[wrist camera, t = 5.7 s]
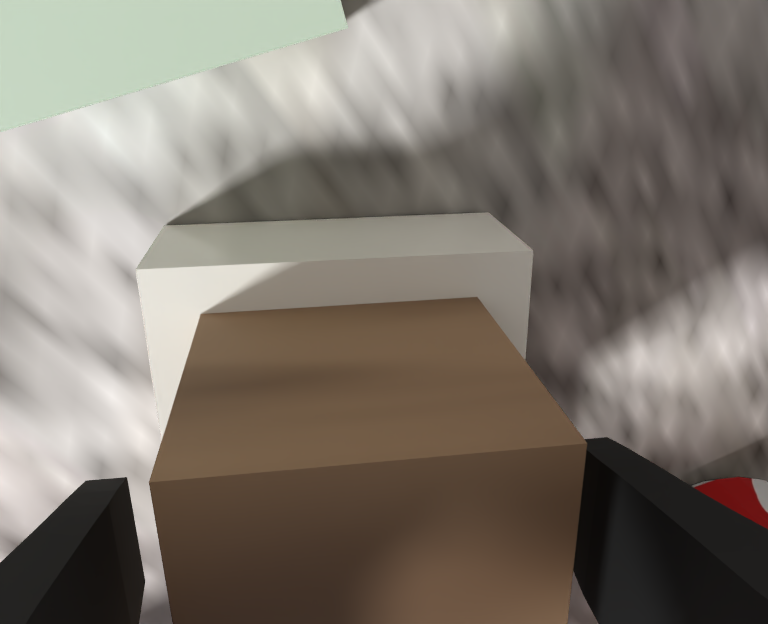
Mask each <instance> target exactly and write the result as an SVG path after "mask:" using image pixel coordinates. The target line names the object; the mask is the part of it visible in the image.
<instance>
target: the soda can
mask: <svg viewBox="0 0 768 624" xmlns="http://www.w3.org/2000/svg"><path fill="white" fill-rule="evenodd" d="M692 487H694V488H695V489H697V490H699V491H700V492H702V493H704V494H705V495H707V496H709V497H711V498H712V499H714V500H716V501H718V502H719V503H721V504H723V505H725V506H726V507H728V508H730V509H732V510H734V511H735V512H737V513H739V514H741V515H742V516H744V517H746V518H748V519H750V520H752V521H754V522H756V523H757V524H759V525H761V526H763V527H765V528H767V529H768V482H767V481H765V480H760V479H752V478H745V477H732V478H724V479H716V480H711V481H703V482H700V483H698V484H695V485H692Z"/></svg>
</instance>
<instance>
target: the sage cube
mask: <svg viewBox="0 0 768 624" xmlns="http://www.w3.org/2000/svg"><path fill="white" fill-rule="evenodd" d="M347 28H348V26H347V22H346V18H345V15H344V11H343V7H342V4H341V0H0V132H3V131H6V130H9V129H13V128H16V127H19V126H23V125H26V124H29V123H33V122H36V121H40V120H43V119H46V118H50V117H53V116H56V115H60V114H63V113H66V112H70V111H73V110H76V109H80V108H83V107H86V106H90V105H93V104H96V103H100V102H103V101H106V100H110V99H113V98H116V97H120V96H123V95H126V94H130V93H133V92H136V91H140V90H143V89H146V88H150V87H153V86H156V85H160V84H163V83H166V82H170V81H173V80H176V79H180V78H183V77H186V76H190V75H193V74H196V73H200V72H203V71H206V70H210V69H213V68H216V67H220V66H223V65H227V64H230V63H233V62H237V61H240V60H243V59H247V58H250V57H253V56H257V55H260V54H263V53H267V52H270V51H273V50H277V49H280V48H283V47H287V46H290V45H293V44H297V43H300V42H303V41H307V40H310V39H313V38H317V37H320V36H323V35H327V34H330V33H333V32H337V31H340V30H343V29H347Z"/></svg>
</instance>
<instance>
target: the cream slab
mask: <svg viewBox="0 0 768 624" xmlns="http://www.w3.org/2000/svg"><path fill="white" fill-rule="evenodd" d="M533 251H534V250H532V249H531V248H530V247H529V246H528V245H527V244H525V243H524V242H523V241H522V240H521V239H519V238H518V237H517V236H516V235H515V234H514V233H512V232H511V231H510V230H509V229H508V228H506V227H505V226H504V225H503V224H502V223H501V222H499V221H498V220H497V219H496V218H495V217H493V216H492V215H491V214H490V213H489V212H484V213H460V214H435V215H411V216H386V217H362V218H337V219H313V220H288V221H263V222H239V223H214V224H190V225H165V226H164V227H163V228H162V230H161V231H160V233H159V234H158V236H157V237H156V239H155V240H154V242H153V244H152V245H151V247H150V248H149V250H148V251H147V253H146V254H145V256H144V257H143V259H142V260H141V262H140V264H139V265H138V267H137V268H136V275H137V282H138V289H139V296H140V302H141V309H142V316H143V322H144V329H145V336H146V342H147V349H148V356H149V363H150V369H151V376H152V383H153V389H154V396H155V403H156V409H157V416H158V423H159V430H160V436H161V442H162V438H163V435H164V432H165V429H166V425H167V422H168V419H169V416H170V412H171V409H172V406H173V403H174V399H175V396H176V393H177V390H178V386H179V383H180V380H181V376H182V373H183V370H184V367H185V363H186V360H187V357H188V354H189V350H190V347H191V344H192V341H193V337H194V334H195V331H196V328H197V324H198V321H199V318H200V314H208V313H224V312H240V311H257V310H273V309H289V308H305V307H321V306H338V305H354V304H370V303H386V302H402V301H419V300H435V299H451V298H467V297H478V298H479V300H480V301H481V302H482V304H483V305H484V306H485V308H486V309H487V310H488V312H489V313H490V314H491V316H492V317H493V318H494V320H495V321H496V322H497V324H498V325H499V326H500V328H501V329H502V330H503V332H504V333H505V334H506V336H507V337H508V338H509V340H510V341H511V342H512V344H513V345H514V346H515V348H516V349H517V350H518V352H519V353H520V354H521V356H522V357H523V358H524V360H525V358H526V345H527V332H528V318H529V305H530V291H531V278H532V265H533Z"/></svg>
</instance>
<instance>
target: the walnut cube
mask: <svg viewBox="0 0 768 624" xmlns="http://www.w3.org/2000/svg"><path fill="white" fill-rule="evenodd" d="M586 449H587V442H586V441H585V440H584V438H583V437H582V436H581V434H580V433H579V432H578V430H577V429H576V428H575V426H574V425H573V424H572V422H571V421H570V420H569V418H568V417H567V416H566V414H565V413H564V412H563V410H562V409H561V408H560V406H559V405H558V404H557V402H556V401H555V400H554V398H553V397H552V396H551V394H550V393H549V392H548V390H547V389H546V388H545V386H544V385H543V384H542V382H541V381H540V380H539V378H538V377H537V376H536V374H535V373H534V372H533V370H532V369H531V368H530V366H529V365H528V364H527V362H526V361H525V360H524V358H523V357H522V356H521V354H520V353H519V352H518V350H517V349H516V348H515V346H514V345H513V344H512V342H511V341H510V340H509V338H508V337H507V336H506V334H505V333H504V332H503V330H502V329H501V328H500V326H499V325H498V324H497V322H496V321H495V320H494V318H493V317H492V316H491V314H490V313H489V312H488V310H487V309H486V308H485V306H484V305H483V304H482V302H481V301H480V300H479V298H478V297H467V298H451V299H435V300H419V301H402V302H386V303H370V304H354V305H338V306H321V307H305V308H289V309H273V310H257V311H240V312H224V313H208V314H200V318H199V321H198V324H197V328H196V331H195V334H194V337H193V341H192V344H191V347H190V350H189V354H188V357H187V360H186V363H185V367H184V370H183V373H182V376H181V380H180V383H179V386H178V390H177V393H176V396H175V399H174V403H173V406H172V409H171V412H170V416H169V419H168V422H167V425H166V429H165V432H164V435H163V438H162V442H161V445H160V448H159V451H158V455H157V458H156V461H155V465H154V468H153V471H152V474H151V478H150V481H149V485H150V491H151V497H152V503H153V509H154V515H155V521H156V527H157V533H158V539H159V545H160V550H161V556H162V562H163V568H164V574H165V580H166V586H167V592H168V598H169V604H170V610H171V616H172V622H173V624H567V621H568V612H569V603H570V594H571V585H572V576H573V567H574V558H575V549H576V540H577V531H578V522H579V513H580V504H581V495H582V486H583V477H584V468H585V459H586Z"/></svg>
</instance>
